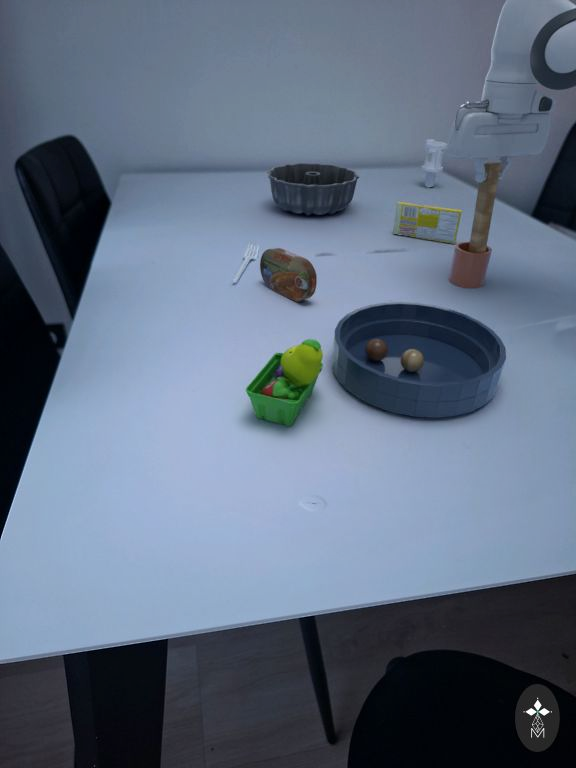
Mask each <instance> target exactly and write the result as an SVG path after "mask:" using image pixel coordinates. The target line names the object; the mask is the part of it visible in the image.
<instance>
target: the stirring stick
mask: <svg viewBox="0 0 576 768" xmlns="http://www.w3.org/2000/svg"><path fill="white" fill-rule="evenodd" d="M500 166H501V163H500V162H499V161H487V163H486V164H484V167H485V172H488V173H489V174H488V177H487V181H486V182H481V183H479V182H478V188H477V195H476V201H475V206H474V207H475V208H474V212H473V220H472V227H471V233H470V238H469V242H470V244H469V251H468V252H471V253H485V252H486V246H488V241H489V240H488V239H489V233H490V228H491V224H492V223H491V222H492V218H493V217H492V216H493V211H494V206H495V205H494V204H495V200H496V195H497V189H498V183H499V181H498V177H499V172H500Z"/></svg>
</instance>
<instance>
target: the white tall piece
mask: <svg viewBox="0 0 576 768" xmlns="http://www.w3.org/2000/svg"><path fill="white" fill-rule="evenodd" d="M447 144H448V142H447V143H446V142H443V141H436V139H432V138H431V139H425V143H424V152H425V157H424V163H423V164H422V165H421V168H420V169H421V171H423V172H426V173H425V174H426V175H425V179H424V186H425V185H426V186H434V187H435V181H436V175H437V173H442V172H443V169H444V167H443V166H442V164H443V163H442V162H443V157H444V152H443V151H442V150H447Z"/></svg>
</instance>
